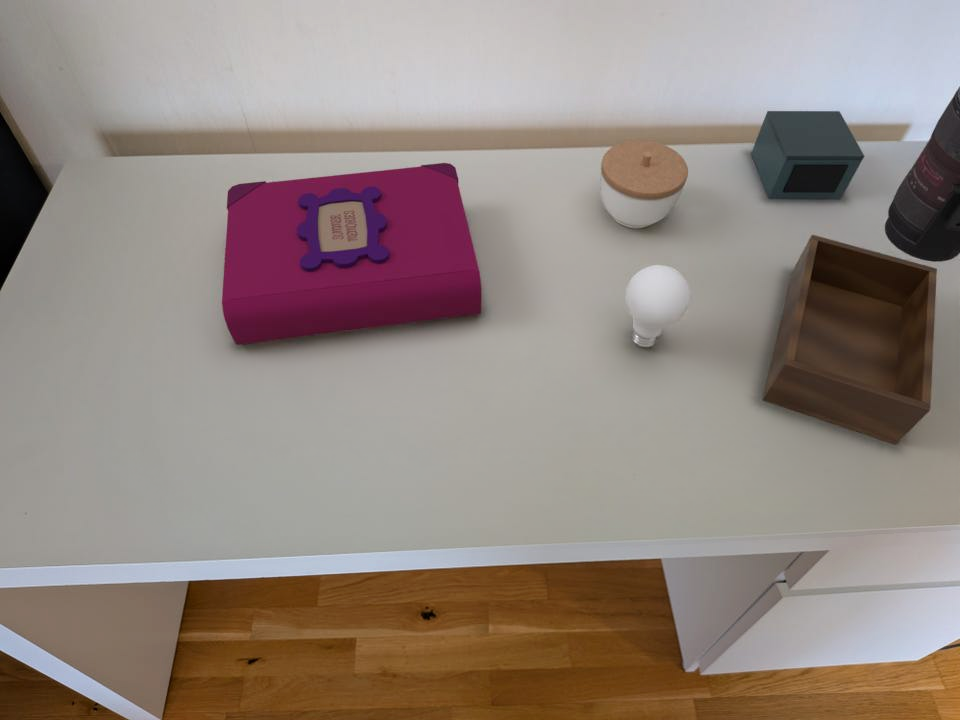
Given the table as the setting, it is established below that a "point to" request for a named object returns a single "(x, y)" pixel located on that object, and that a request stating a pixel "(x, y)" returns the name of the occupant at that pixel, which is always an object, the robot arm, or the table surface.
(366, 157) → the table surface
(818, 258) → the wooden box
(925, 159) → the camera lens
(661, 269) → the light bulb
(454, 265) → the book
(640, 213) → the trinket box
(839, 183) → the cabinet block
